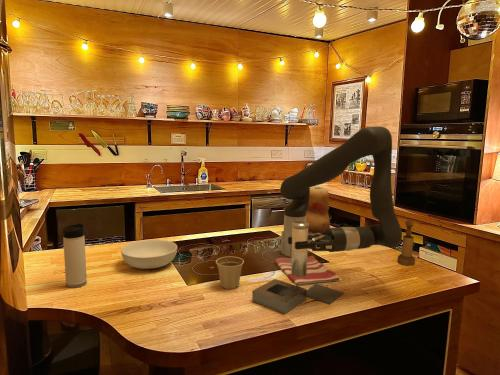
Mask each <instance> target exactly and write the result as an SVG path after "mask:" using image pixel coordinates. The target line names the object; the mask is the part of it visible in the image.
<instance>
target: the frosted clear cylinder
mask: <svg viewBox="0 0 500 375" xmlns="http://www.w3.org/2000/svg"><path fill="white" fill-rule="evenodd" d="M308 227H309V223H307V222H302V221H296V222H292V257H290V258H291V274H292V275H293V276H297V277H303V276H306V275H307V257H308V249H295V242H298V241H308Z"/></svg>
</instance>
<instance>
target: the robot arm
mask: <svg viewBox="0 0 500 375" xmlns="http://www.w3.org/2000/svg"><path fill="white" fill-rule="evenodd" d="M392 136H393V135H392V133H391V131H390V130H389V129H388V128H387V127H384V126H381V125H380V126H377V125H376V126H365V127H362V128H360V129H359V130H358V131H356V132H355V133H354V134H353V135H352V136H350V137H349V138H348V139H347V140H345V142H343V143H342V144H341V145H339V146H337V147H335V148H334V149H332V150H331V151H329V152H328V153H326V154H324V155H322V156H321V157H320V158H318V159H316V160H315V161H314V162H312V163H311V164H309V165H308V166H306V167H305V168H303V169H302V170H301V171H299V172H297V173H295V174H292V175H291V176H289V177H286V178H285V179H284V180H283V181H282V182H281V184H280V189H279V190H280V191H279V192H280V194H281V196H282V197H283V198H284V199H286V200H291V202H290V204H288V205H287V206H285V207H284V210H283V211H284V212H283V214H284V215H283V231H281V239H280V254H282V255H283V256H284V257H287V258H291V257H292V222H296V221H302V222H306V212H307V210H308V206H309V196H310V188H311V187H317V186H319V185H324V184H325V183H328V182H331V181H332V180H335V179H336V178H338V177H340V176H341V175H342V174H343V173H344V172H345V171H346V169H347V168H348V167H349V166H350V165H351V164H353V163H354V162H357V161H358V160H361V159H362V158H363V159H364V158H366V157H370V156H372V159H373V174H372V178H371V179H372V180H371V183H370V187H369V188H370V189H369V201H370V210H371V215H372V217H373V218H375V219H377V220H378V222H379V224H372V225H367V226H354V227H353V226H341V227H330V228H327V229H326V230H325V231H324V233H323V234H321V233H315V234H314V232H312V231H311V232H308V241H298V242H295V249H307V250H308V251H309V250H311V251H312V252H329V253H337V252H347V251H353V250H362V249H367V248H371V247H372V246H382V247H387V248H392V249H394V248H397V247H398V246H399V245H400V244H402V241H403V231H402V227H401V224H400V222H399V220H398V217H397V215H396V212H395V208H394V207H395V206H394V197H393V189H392V158H393V138H392Z"/></svg>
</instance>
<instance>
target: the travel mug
mask: <svg viewBox="0 0 500 375" xmlns="http://www.w3.org/2000/svg"><path fill="white" fill-rule="evenodd" d="M84 227H85V225H84V224H83V223H77V224H70V225H67V226H65V227H64V228H63V229H62V234H63V236H62V238H63V240H62V242H63V254H64V257H63V258H64V273H65V286H66V287H67V288H71V289H75V288H80V287H83V286H84V285H86V284H87V283H88V277H87V260H86V258H87V257H86V242H85V241H86V240H85V228H84Z"/></svg>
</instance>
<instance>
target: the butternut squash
mask: <svg viewBox="0 0 500 375" xmlns="http://www.w3.org/2000/svg"><path fill="white" fill-rule="evenodd" d="M329 200H330V193H329V190H328V189H327V188H326V187H324V186H319V185H317V186H313V187H310V196H309V206H308V210H307V212H306V222H307V223H309V227H308V232H311V231H312V232H314V234H315V233H321V234H323V233H324V231H325V230H326V229H327V228H331V227H330V226H331V220H330V216H329V210H330V204H329V202H330V201H329Z"/></svg>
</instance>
